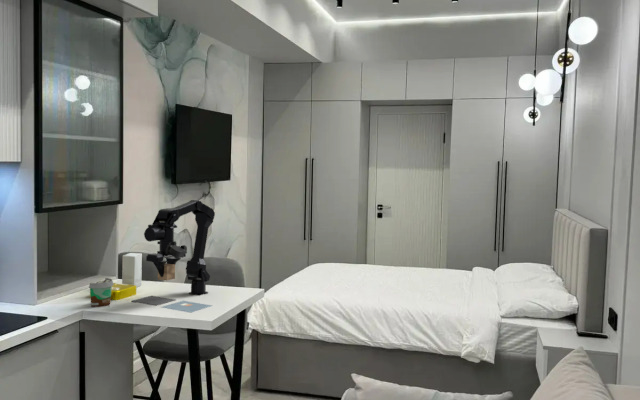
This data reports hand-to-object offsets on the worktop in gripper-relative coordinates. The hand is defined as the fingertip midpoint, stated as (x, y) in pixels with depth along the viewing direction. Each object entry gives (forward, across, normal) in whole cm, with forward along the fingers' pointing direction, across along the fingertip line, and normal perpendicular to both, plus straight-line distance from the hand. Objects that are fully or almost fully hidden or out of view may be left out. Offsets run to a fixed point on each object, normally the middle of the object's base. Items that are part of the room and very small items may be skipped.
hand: (166, 275), depth 248 cm
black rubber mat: (+12, 0, +6) cm, 13 cm away
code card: (+12, -1, -12) cm, 17 cm away
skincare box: (+12, +17, +34) cm, 40 cm away
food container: (+12, -16, +19) cm, 27 cm away
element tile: (+12, -2, +28) cm, 31 cm away
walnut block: (+1, 0, 0) cm, 1 cm away
